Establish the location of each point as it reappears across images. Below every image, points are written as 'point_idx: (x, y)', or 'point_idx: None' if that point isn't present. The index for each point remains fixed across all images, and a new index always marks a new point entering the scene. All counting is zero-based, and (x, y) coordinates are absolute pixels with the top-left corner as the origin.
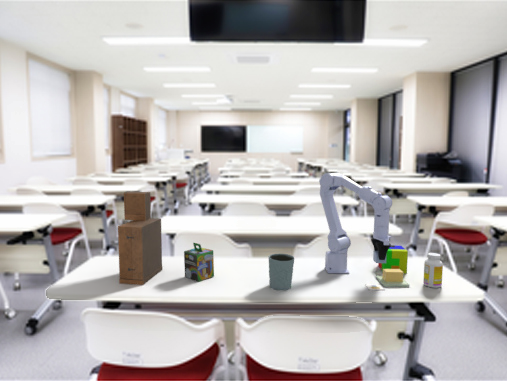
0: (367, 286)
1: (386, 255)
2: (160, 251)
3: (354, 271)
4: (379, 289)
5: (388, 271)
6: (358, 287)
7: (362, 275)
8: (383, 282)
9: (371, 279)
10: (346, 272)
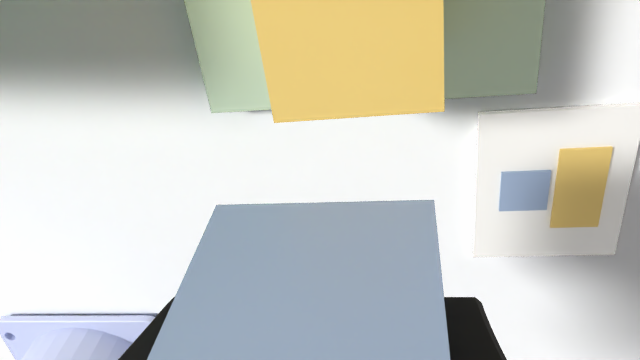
0: (529, 250)
1: (446, 342)
2: None
3: (64, 260)
4: (634, 159)
5: (408, 62)
6: (535, 316)
7: (168, 217)
8: (468, 85)
9: (280, 159)
10: None
